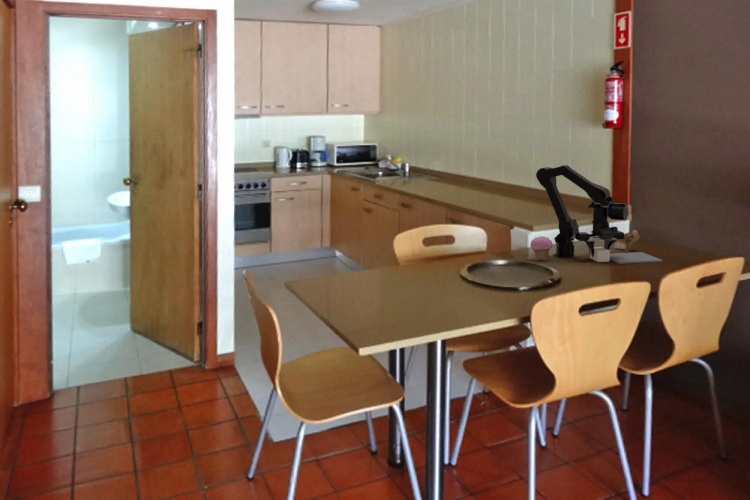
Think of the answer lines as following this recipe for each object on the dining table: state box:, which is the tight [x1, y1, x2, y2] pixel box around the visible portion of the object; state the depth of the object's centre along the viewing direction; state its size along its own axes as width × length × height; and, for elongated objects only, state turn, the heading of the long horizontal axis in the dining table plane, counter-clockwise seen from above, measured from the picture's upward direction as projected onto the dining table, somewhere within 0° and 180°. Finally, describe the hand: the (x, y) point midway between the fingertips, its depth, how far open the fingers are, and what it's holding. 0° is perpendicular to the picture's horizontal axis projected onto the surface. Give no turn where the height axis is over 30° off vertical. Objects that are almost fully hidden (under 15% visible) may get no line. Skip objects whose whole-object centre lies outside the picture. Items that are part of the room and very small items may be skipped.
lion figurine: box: [611, 229, 640, 252], centre depth 294 cm, size 15×5×9 cm, turn 45°
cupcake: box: [529, 235, 553, 261], centre depth 276 cm, size 9×9×10 cm
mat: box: [610, 251, 664, 265], centre depth 274 cm, size 18×18×1 cm
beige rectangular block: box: [588, 245, 611, 263], centre depth 274 cm, size 5×9×5 cm, turn 4°
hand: (599, 256), depth 274 cm, fingers closed on beige rectangular block, 5 cm apart
